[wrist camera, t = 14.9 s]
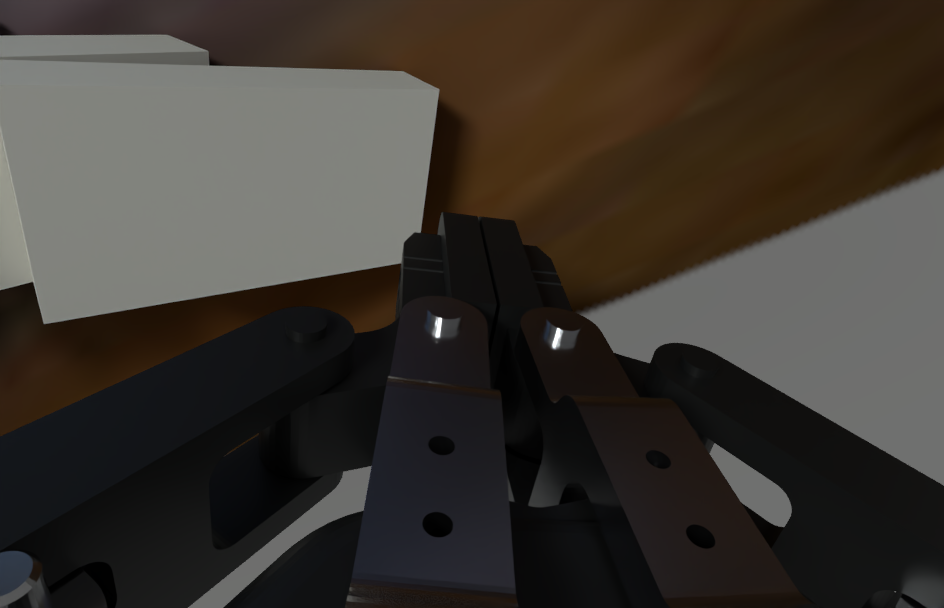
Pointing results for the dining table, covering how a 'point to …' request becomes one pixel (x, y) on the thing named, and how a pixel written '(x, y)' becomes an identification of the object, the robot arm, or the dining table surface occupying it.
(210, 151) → the domino
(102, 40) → the domino
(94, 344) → the dining table surface
